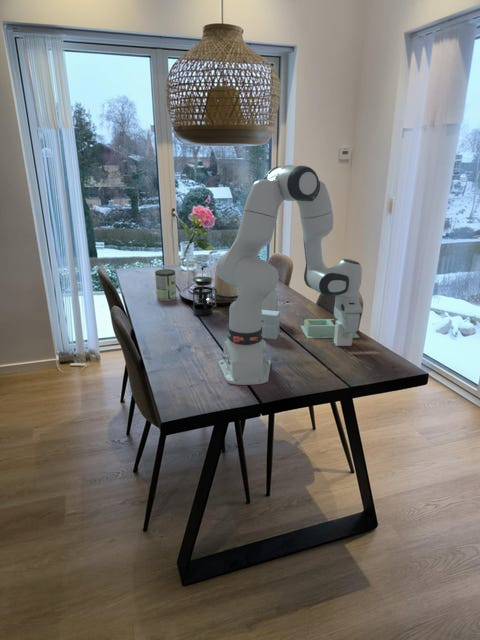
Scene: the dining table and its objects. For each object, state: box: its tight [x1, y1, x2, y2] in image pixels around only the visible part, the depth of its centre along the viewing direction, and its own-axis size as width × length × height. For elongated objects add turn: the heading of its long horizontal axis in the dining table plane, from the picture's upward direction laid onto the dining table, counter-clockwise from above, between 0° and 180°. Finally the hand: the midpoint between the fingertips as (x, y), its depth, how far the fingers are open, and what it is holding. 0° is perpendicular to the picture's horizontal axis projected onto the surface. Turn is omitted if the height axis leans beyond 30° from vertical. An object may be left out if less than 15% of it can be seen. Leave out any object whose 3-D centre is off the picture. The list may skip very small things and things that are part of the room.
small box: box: [261, 310, 281, 340], centre depth 180 cm, size 8×6×10 cm
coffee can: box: [154, 268, 177, 302], centre depth 226 cm, size 10×10×14 cm
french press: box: [192, 264, 218, 318], centre depth 203 cm, size 12×9×23 cm
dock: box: [300, 318, 361, 339], centre depth 184 cm, size 14×22×5 cm, turn 94°
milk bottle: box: [262, 289, 278, 311], centre depth 195 cm, size 8×8×20 cm
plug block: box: [333, 321, 353, 347], centre depth 171 cm, size 4×6×10 cm, turn 94°
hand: (343, 335), depth 171 cm, fingers closed on plug block, 4 cm apart
